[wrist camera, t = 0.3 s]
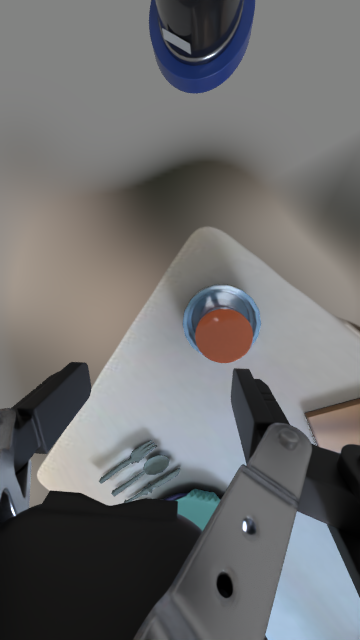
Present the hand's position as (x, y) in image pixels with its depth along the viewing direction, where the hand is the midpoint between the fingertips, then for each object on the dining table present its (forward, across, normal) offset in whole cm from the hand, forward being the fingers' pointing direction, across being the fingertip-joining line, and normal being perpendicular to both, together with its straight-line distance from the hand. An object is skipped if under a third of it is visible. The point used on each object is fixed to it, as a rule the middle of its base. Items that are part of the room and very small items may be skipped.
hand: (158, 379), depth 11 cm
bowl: (+18, -6, +2) cm, 19 cm away
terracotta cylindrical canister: (+18, -6, +2) cm, 18 cm away
